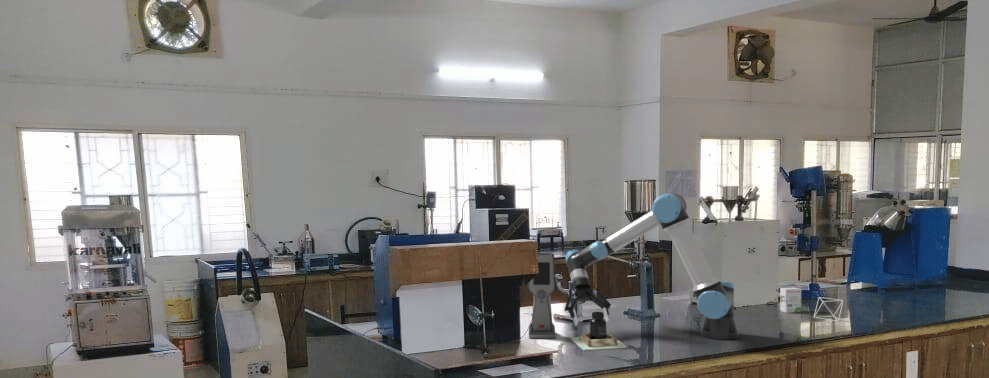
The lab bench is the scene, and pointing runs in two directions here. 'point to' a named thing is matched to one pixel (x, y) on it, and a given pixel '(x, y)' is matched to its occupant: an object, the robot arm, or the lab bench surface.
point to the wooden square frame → (597, 340)
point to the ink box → (790, 300)
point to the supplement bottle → (598, 326)
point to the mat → (585, 347)
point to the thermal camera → (542, 298)
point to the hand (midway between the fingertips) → (592, 323)
